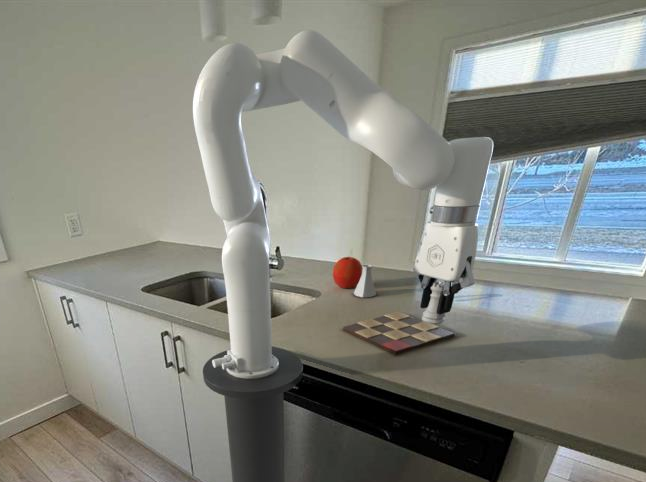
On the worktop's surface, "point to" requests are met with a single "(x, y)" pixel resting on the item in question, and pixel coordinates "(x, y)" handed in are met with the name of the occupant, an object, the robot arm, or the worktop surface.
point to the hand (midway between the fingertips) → (435, 309)
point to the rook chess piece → (434, 306)
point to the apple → (347, 272)
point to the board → (398, 332)
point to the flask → (365, 283)
